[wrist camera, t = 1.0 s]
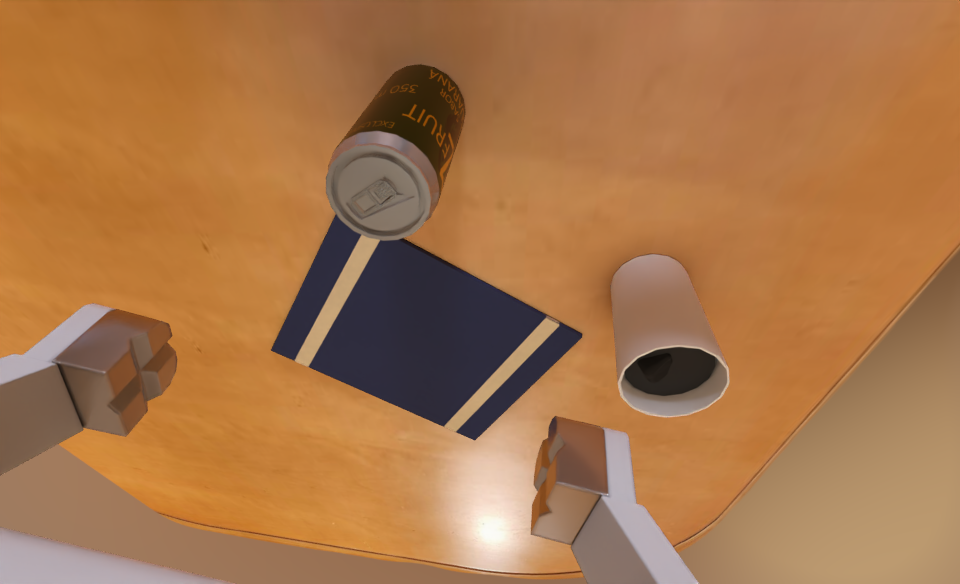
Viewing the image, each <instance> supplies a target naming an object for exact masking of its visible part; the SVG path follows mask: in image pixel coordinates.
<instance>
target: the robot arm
mask: <svg viewBox="0 0 960 584" xmlns="http://www.w3.org/2000/svg"><path fill="white" fill-rule="evenodd" d="M171 337H172V333H171V329H170V325H169V324H168V323H165V322H163V321H159V320H155V319H152V318H148V317H144V316H141V315H137V314H133V313H129V312H126V311H122V310H118V309H113V308H110V307H106V306H102V305H98V304H94V303H92V304H89V305H85V306H83V307H82V308H80V309H79V310H78V311H77V312H75V313H74V314H73V315H72V316H70V317H69V318H68V319H67V320H65V321H64V322H63V323H62V324H61V325H59V326H58V327H57V328H56V329H54V330H53V331H52V332H51V333H49V334H48V335H47V336H46V337H44V338H43V339H42V340H41V341H39V342H38V343H37V344H36V345H34V346H33V347H32V348H31V349H29V350H28V351H27V352H26V353H25V354H23V355H19V354H12V355H9V356H6V357H3V358H0V475H2V474H4V473H6V472H8V471H10V470H11V469H13V468H15V467H17V466H19V465H20V464H22V463H24V462H26V461H28V460H29V459H31V458H33V457H35V456H37V455H39V454H41V453H42V452H44V451H46V450H48V449H49V448H52V447H53V446H55V445H57V444H59V443H61V442H63V441H64V440H66V439H68V438H70V437H72V436H73V435H75V434H77V433H79V432H81V431H83V428H87V429H92V430H97V431H101V432H106V433H111V434H116V435H120V436H125V437H126V436H127V435H128V434H129V433H130V431H131V430H132V429H133V428H134V427H135V425H136V424H137V423H138V422H139V421H140V420H141V418H142V417H143V416H144V415H145V414H146V413H147V411H148V406H147V401H149V400H151V399H153V398H155V397H157V396H160V395H162V394H163V392H164V391H165V390H166V389H167V387H168V386H169V385H170V383H171V381H172V379H173V377H174V374H175V372H176V367H177V356H176V351H175V350H174V349H173V348H172V347H171V346H170V345H169V344H168V343H167V341H168V340H169V339H170V338H171ZM534 486H535V488H536V489H537V491H538V493H537V495H536V497H535V499H534V502H533V504H532V520H531V535H535V536H539V537H542V538H546V539H550V540H553V541H557V542H561V543H565V544H568V545H572V546H571V549H572V551H573V553H574V556H575V558H576V560H577V562H578V564H579V566H580V568H581V571H582V573H583V575H584V577H585V579H586V581H587V583H588V584H699V583H698V581H697V580H696V579H695V577H694V576H693V574H692V573H691V572H690V570H689V569H688V567H687V566H686V565H685V563H684V562H683V560H682V559H681V557H680V556H679V555H678V553H677V552H676V550H675V549H674V548H673V546H672V545H671V543H670V542H669V541H668V539H667V538H666V536H665V535H664V533H663V532H662V531H661V529H660V528H659V526H658V525H657V524H656V522H655V521H654V519H653V518H652V517H651V515H650V514H649V512H648V511H647V509H646V508H645V507H644V506H642V505H639V504H637V502H636V493H635V485H634V477H633V468H632V460H631V451H630V443H629V437H628V435H627V433H625V432H621V431H617V430H612V429H608V428H604V427H602V428H601V427H600V426H596V425H592V424H588V423H583V422H579V421H575V420H570V419H566V418H562V417H557V416H555V417H554V418H553V419H552V421H551V423H550V426H549V433H548V438H547V439H545V440H543V442H542V445H541V447H540V450H539V453H538V457H537V461H536V466H535V473H534ZM0 584H236V583H232V582H228V581H224V580H220V579H215V578H211V577H207V576H202V575H199V574H195V573H190V572H186V571H182V570H178V569H174V568H170V567H165V566H161V565H157V564H153V563H149V562H144V561H140V560H136V559H132V558H128V557H124V556H120V555H115V554H111V553H107V552H103V551H99V550H94V549H90V548H86V547H82V546H78V545H74V544H69V543H65V542H61V541H57V540H53V539H49V538H45V537H40V536H36V535H32V534H28V533H24V532H20V531H15V530H11V529H7V528H3V527H0Z"/></svg>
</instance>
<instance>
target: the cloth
mask: <svg viewBox="0 0 960 584" xmlns="http://www.w3.org/2000/svg"><path fill="white" fill-rule="evenodd" d="M581 338H582V334H581V333H579V332H577V331H575V330H574V329H572V328H570V327H568V326H566V325H564V324H562V323H560V322H559V321H557V320H555V319H553V318H551V317H549V316H547V315H545V314H543V313H542V312H540V311H538V310H536V309H534V308H532V307H530V306H528V305H527V304H525V303H523V302H521V301H519V300H517V299H515V298H513V297H511V296H510V295H508V294H506V293H504V292H502V291H500V290H498V289H496V288H494V287H493V286H491V285H489V284H487V283H485V282H483V281H481V280H479V279H478V278H476V277H474V276H472V275H470V274H468V273H466V272H464V271H462V270H461V269H459V268H457V267H455V266H453V265H451V264H449V263H447V262H446V261H444V260H442V259H440V258H438V257H436V256H434V255H432V254H430V253H429V252H427V251H425V250H423V249H421V248H419V247H417V246H415V245H413V244H412V243H410V242H408V241H406V240H404V239H399V240H387V241H382V240H377V239H372V238H368V237H366V236H363V235H361V234H359V233H357V232H355V231H353V230H352V229H351V228H350V227H348V226H347V225H346V224H345V223H343V222H342V221H341V220H340V219H339V217H338V216H337V214H336V215H335V218H334V220H333V222H332V224H331V226H330V228H329V230H328V232H327V234H326V236H325V238H324V241H323V243H322V245H321V247H320V249H319V251H318V253H317V255H316V257H315V259H314V261H313V264H312V266H311V268H310V270H309V272H308V274H307V276H306V278H305V280H304V282H303V284H302V287H301V289H300V291H299V293H298V295H297V297H296V299H295V301H294V303H293V305H292V307H291V310H290V312H289V314H288V316H287V318H286V320H285V322H284V324H283V326H282V328H281V330H280V333H279V335H278V337H277V339H276V341H275V343H274V345H273V347H272V349H271V351H273V352H276V353H278V354H280V355H282V356H285V357H287V358H289V359H292V360H294V361H295V362H298V363H300V364H302V365H304V366H307V367H310V368H312V369H314V370H316V371H319V372H321V373H323V374H326V375H328V376H330V377H332V378H335V379H337V380H339V381H341V382H344V383H346V384H348V385H350V386H353V387H355V388H357V389H360V390H362V391H364V392H366V393H369V394H371V395H373V396H375V397H378V398H380V399H382V400H384V401H387V402H389V403H391V404H393V405H396V406H398V407H400V408H403V409H405V410H407V411H409V412H412V413H414V414H416V415H418V416H421V417H423V418H425V419H427V420H430V421H432V422H434V423H437V424H439V425H441V426H443V427H445V428H447V429H449V430H452V431H454V432H457V433H459V434H461V435H464V436H466V437H468V438H471V439H473V440H476V439H477V438H478V437H479V436H480V435H481V434H482V433H483V432H484V431H485V430H486V429H487V428H488V427H489V426H490V425H491V424H492V423H494V422H495V421H496V420H497V419H498V418H499V417H500V416H501V415H502V414H503V413H504V412H505V411H506V410H507V409H508V408H509V407H510V406H511V405H512V404H513V403H514V402H515V401H516V400H517V399H518V398H519V397H521V396H522V395H523V394H524V393H525V392H526V391H527V390H528V389H529V388H530V387H531V386H532V385H533V384H534V383H535V382H536V381H537V380H538V379H539V378H540V377H541V376H542V375H543V374H544V373H545V372H546V371H548V370H549V369H550V368H551V367H552V366H553V365H554V364H555V363H556V362H557V361H558V360H559V359H560V358H561V357H562V356H563V355H564V354H565V353H566V352H567V351H568V350H569V349H570V348H571V347H572V346H573V345H575V344H576V343H577V342H578V341H579V340H580V339H581Z"/></svg>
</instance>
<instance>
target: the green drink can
mask: <svg viewBox="0 0 960 584" xmlns="http://www.w3.org/2000/svg"><path fill="white" fill-rule="evenodd" d="M464 117H465V106H464V100H463V97H462V95H461V93H460V91H459V88H458V86H457V85H456V84H455V83H454V82H453V81H452V80H451V78H450V77H449V76H448V75H447V74H445V73H443V72H441V71H440V70H438V69H436V68H435V67H430V66H425V65H421V64H420V65H412V66H406V67H404V68H402V69H400V70H398V71H396V72H395V73H394V74H393V75H392V76H391V77H390V78H389V79H388V80H387V81H386V83H385V84H384V85H383V87H382V88H381V89H380V91H379V92H378V93H377V95H376V96H375V97H374V99H373V100H372V101H371V103H370V104H369V105H368V107H367V108H366V109H365V111H364V112H363V113H362V115H361V116H360V117H359V119H358V120H357V121H356V123H355V124H354V125H353V127H352V128H351V129H350V131H349V132H348V133H347V135H346V136H345V137H344V138H343V140H342V141H341V142H340V144H339V145H338V146H337V148H336V149H335V150H334V152H333V155H332V157H331V160H330V163H329V165H328V174H327V176H326V194H327V196H328V199H329V202H330V205H331V207H332V209H333V210H334V212H335V213H336V214H337V216H338V217H339V219H340V220H341V221H342V222H343V223H345V224H346V225H347V226H348V227H350V228H351V229H352V230H353V231H355V232H357V233H359V234H361V235H363V236H366V237H368V238H372V239H377V240H382V241H387V240H399V239H402V238H404V237H407V236H410V235H412V234H413V233H414V232H416V231H417V230H418V229H419V228H420V227H422V226H423V224H424V222H425V221H427V220H428V219H429V218H430V217H431V215H432V213H433V211H434V210H435V208H436V206H437V204H438V201H439V198H440V195H441V192H442V189H443V185H444V182H445V179H446V176H447V173H448V170H449V167H450V164H451V161H452V158H453V155H454V152H455V149H456V146H457V143H458V139H459V136H460V133H461V130H462V127H463V123H464Z"/></svg>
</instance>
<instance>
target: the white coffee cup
mask: <svg viewBox="0 0 960 584" xmlns="http://www.w3.org/2000/svg"><path fill="white" fill-rule="evenodd" d="M610 287H611V300H612V313H613V327H614V340H615V353H616V367H617V380H618V387H619V391H620V395H621V397H622V398H623V399H624V401H625V402H626V403H627V404H628V405H629V406H630V407H631V408H633V409H635V410H638V411H640V412H642V413H644V414H647V415H652V416H659V417H667V418H668V417H677V416H686V415H690V414H693V413H695V412H698V411H701V410H703V409H706V408H708V407H709V406H710V405H712V404H713V403H714V402H716V401H717V400H718V399H720V398H721V397H722V396H723V394H724V392H725V390H726V388H727V387H728V385H729V368H728V366H727V364H726V361H725V359H724V357H723V354H722V352H721V350H720V348H719V345H718V343H717V341H716V338H715V336H714V334H713V331H712V329H711V327H710V324H709V322H708V320H707V317H706V315H705V313H704V311H703V308H702V306H701V304H700V301H699V299H698V297H697V294H696V292H695V290H694V287H693V285H692V283H691V281H690V278H689V276H688V274H687V272H686V270H685V269H684V267H683V266H682V265H681V263H680V262H678V261H676V260H674V259H672V258H670V257H669V256H664V255H656V254H650V255H645V256H639V257H636V258H634V259H632V260H630V261H628V262H626V263H625V264H623V265H622V266H621V267H620V268H619V269H618V271H617V272H616V273H615V274H614V276H613V279H612V282H611V286H610Z"/></svg>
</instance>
